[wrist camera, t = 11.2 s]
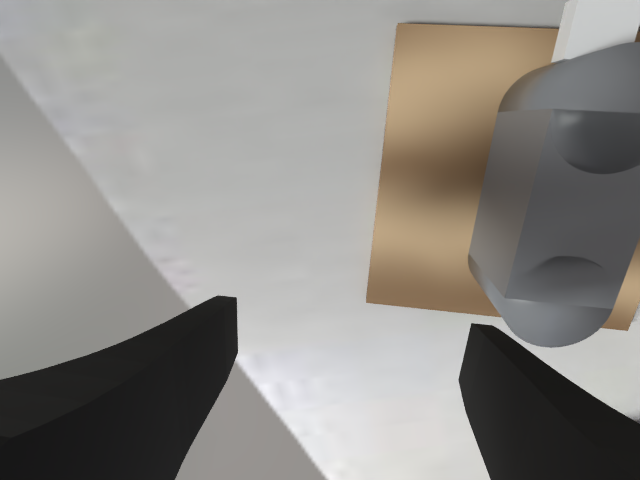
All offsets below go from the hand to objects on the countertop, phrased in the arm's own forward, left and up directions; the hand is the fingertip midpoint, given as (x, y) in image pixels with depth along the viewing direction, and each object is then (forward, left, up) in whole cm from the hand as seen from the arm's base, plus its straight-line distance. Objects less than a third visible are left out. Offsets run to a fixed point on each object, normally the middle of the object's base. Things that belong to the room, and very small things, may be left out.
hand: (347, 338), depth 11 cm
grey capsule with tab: (+4, -8, -9) cm, 12 cm away
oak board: (+4, -8, -9) cm, 13 cm away
